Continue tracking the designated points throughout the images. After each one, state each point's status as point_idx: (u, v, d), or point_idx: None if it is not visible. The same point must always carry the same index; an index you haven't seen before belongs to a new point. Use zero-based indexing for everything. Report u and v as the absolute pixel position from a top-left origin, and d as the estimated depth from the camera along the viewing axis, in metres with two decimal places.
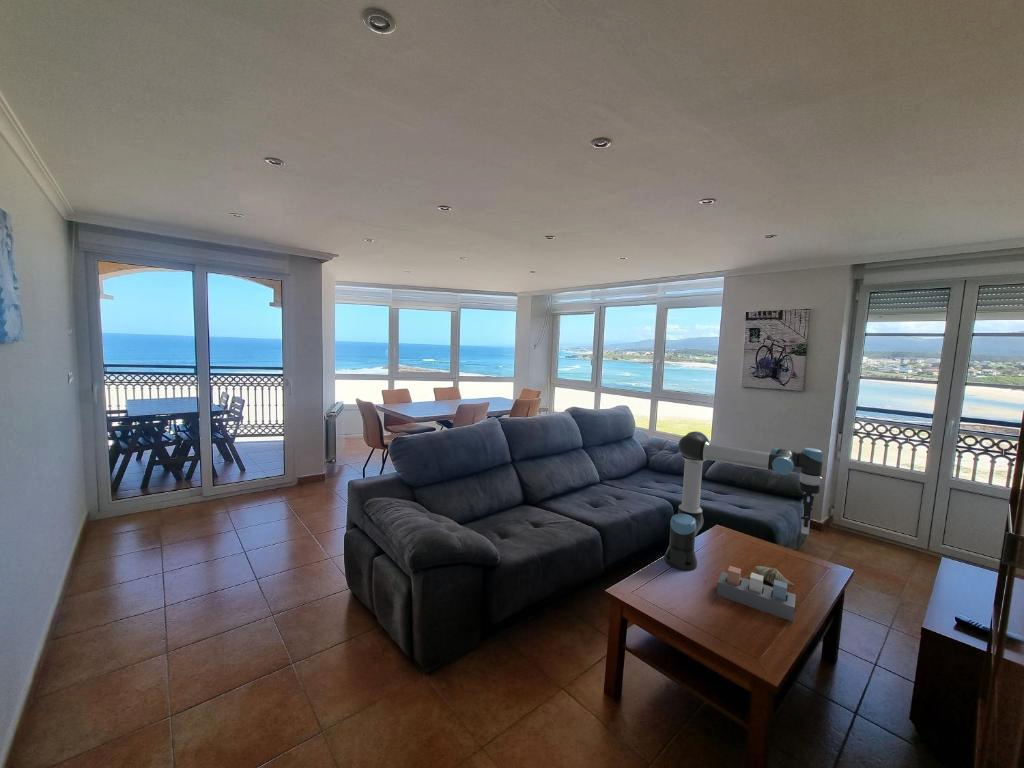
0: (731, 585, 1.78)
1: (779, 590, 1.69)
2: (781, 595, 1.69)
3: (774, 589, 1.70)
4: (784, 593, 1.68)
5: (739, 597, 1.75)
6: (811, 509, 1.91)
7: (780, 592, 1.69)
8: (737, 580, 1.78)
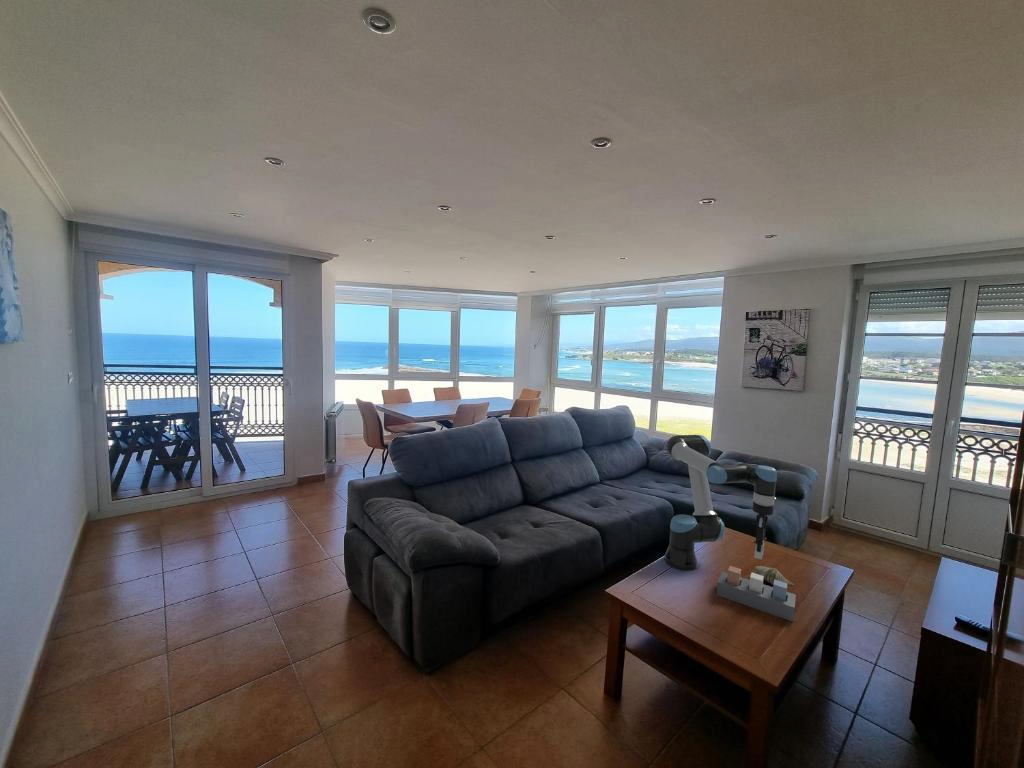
0: (731, 585, 1.78)
1: (779, 590, 1.69)
2: (781, 595, 1.69)
3: (774, 589, 1.70)
4: (784, 593, 1.68)
5: (739, 597, 1.75)
6: (765, 539, 1.76)
7: (780, 592, 1.69)
8: (737, 580, 1.78)
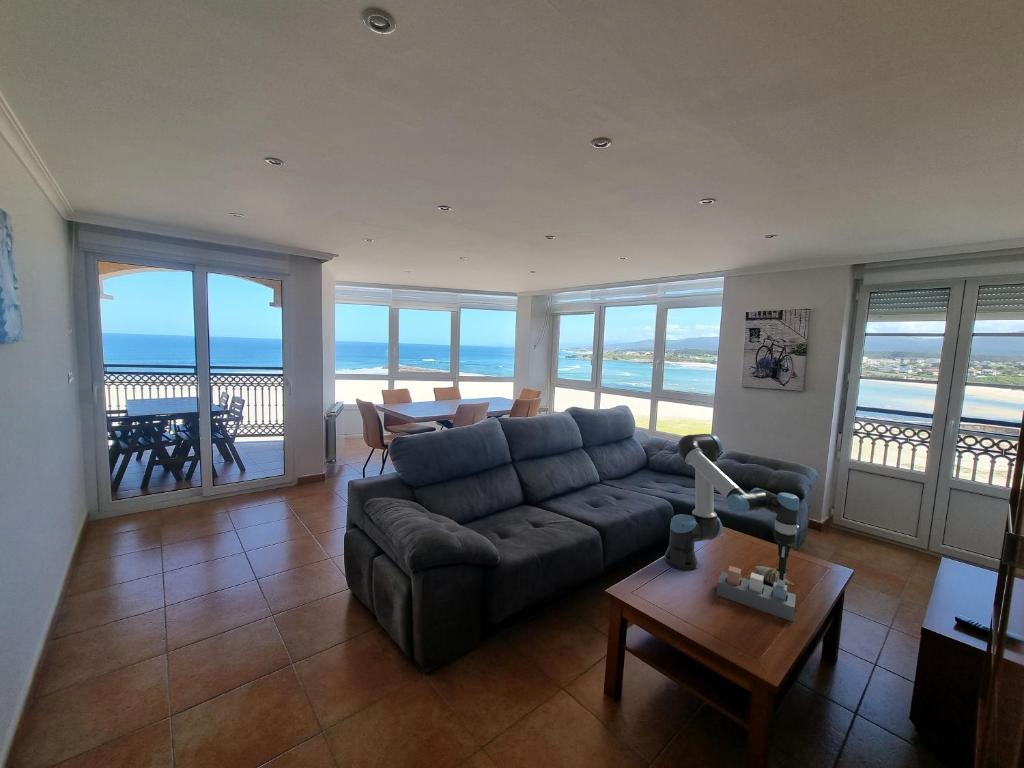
0: (731, 585, 1.78)
1: (779, 592, 1.69)
2: (781, 597, 1.69)
3: (774, 591, 1.70)
4: (784, 595, 1.68)
5: (739, 597, 1.75)
6: (787, 570, 1.70)
7: (780, 595, 1.69)
8: (737, 580, 1.78)
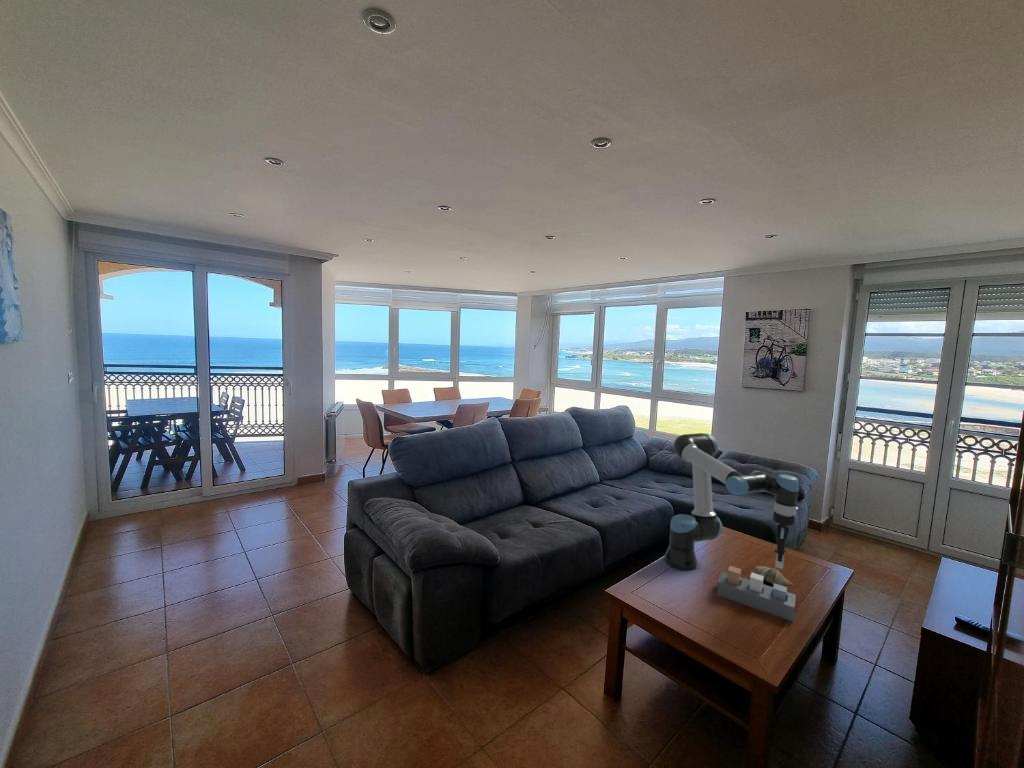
0: (731, 585, 1.78)
1: (779, 594, 1.69)
2: (781, 599, 1.69)
3: (774, 593, 1.70)
4: (784, 597, 1.68)
5: (739, 597, 1.75)
6: (785, 552, 1.70)
7: (780, 596, 1.69)
8: (737, 580, 1.78)
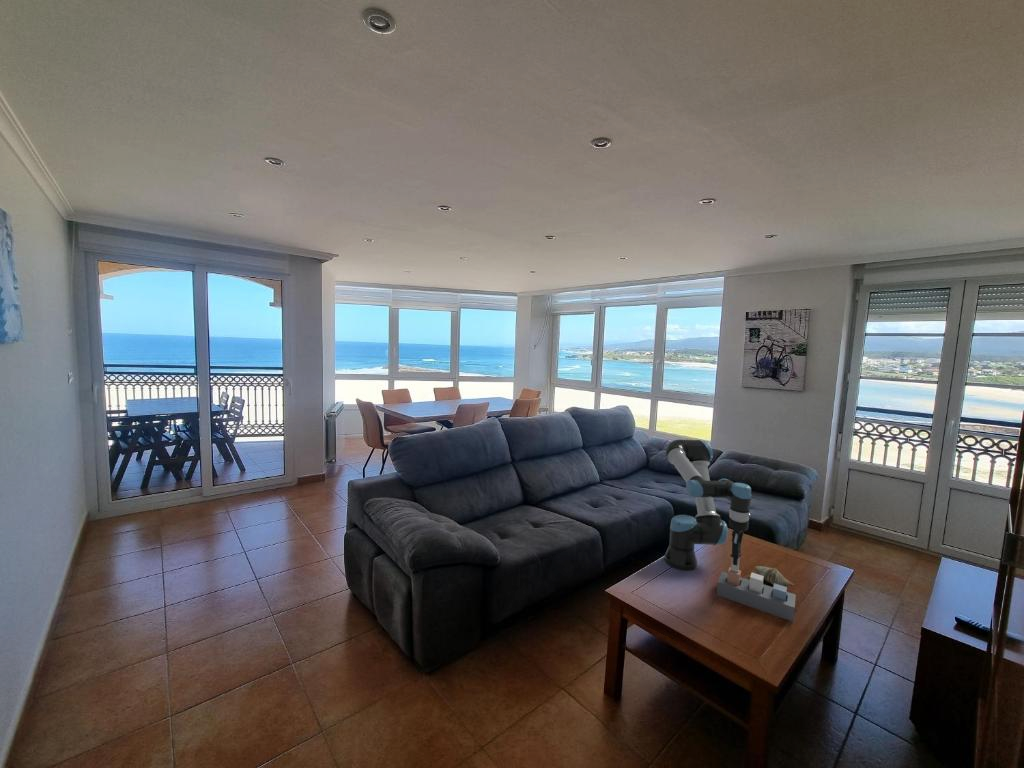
0: (731, 585, 1.78)
1: (779, 594, 1.69)
2: (781, 599, 1.69)
3: (774, 593, 1.70)
4: (784, 597, 1.68)
5: (739, 597, 1.75)
6: (740, 556, 1.80)
7: (780, 596, 1.69)
8: (737, 581, 1.78)
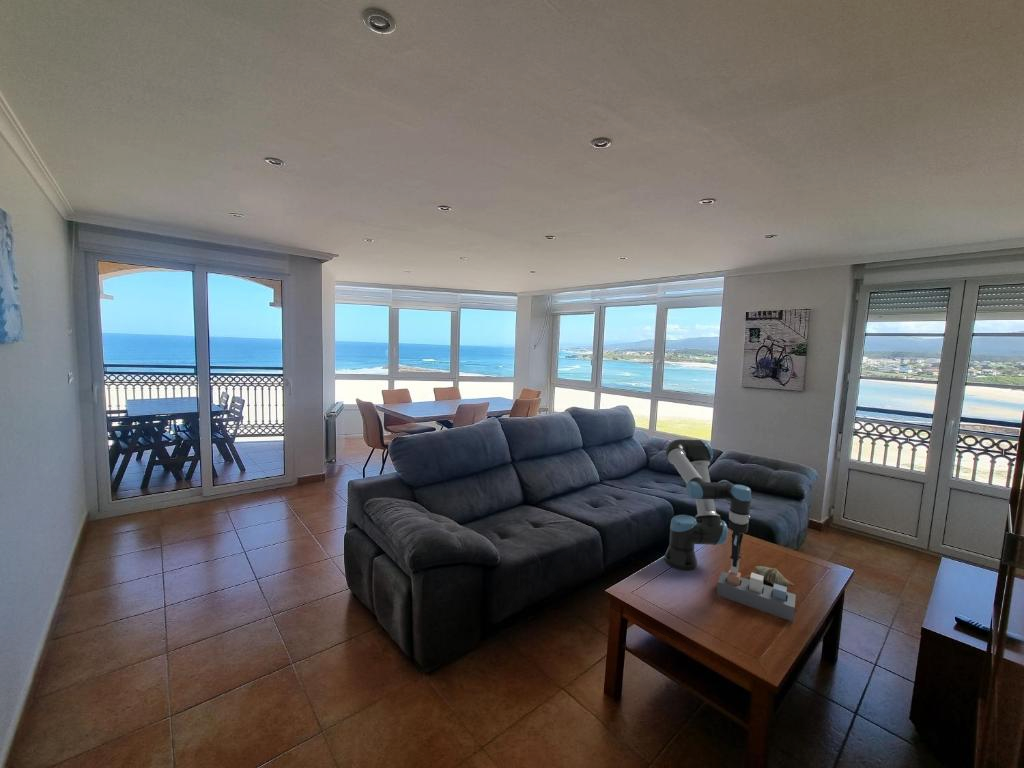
0: (731, 585, 1.78)
1: (779, 594, 1.69)
2: (781, 599, 1.69)
3: (774, 593, 1.70)
4: (784, 597, 1.68)
5: (739, 597, 1.75)
6: None
7: (780, 596, 1.69)
8: (737, 584, 1.78)
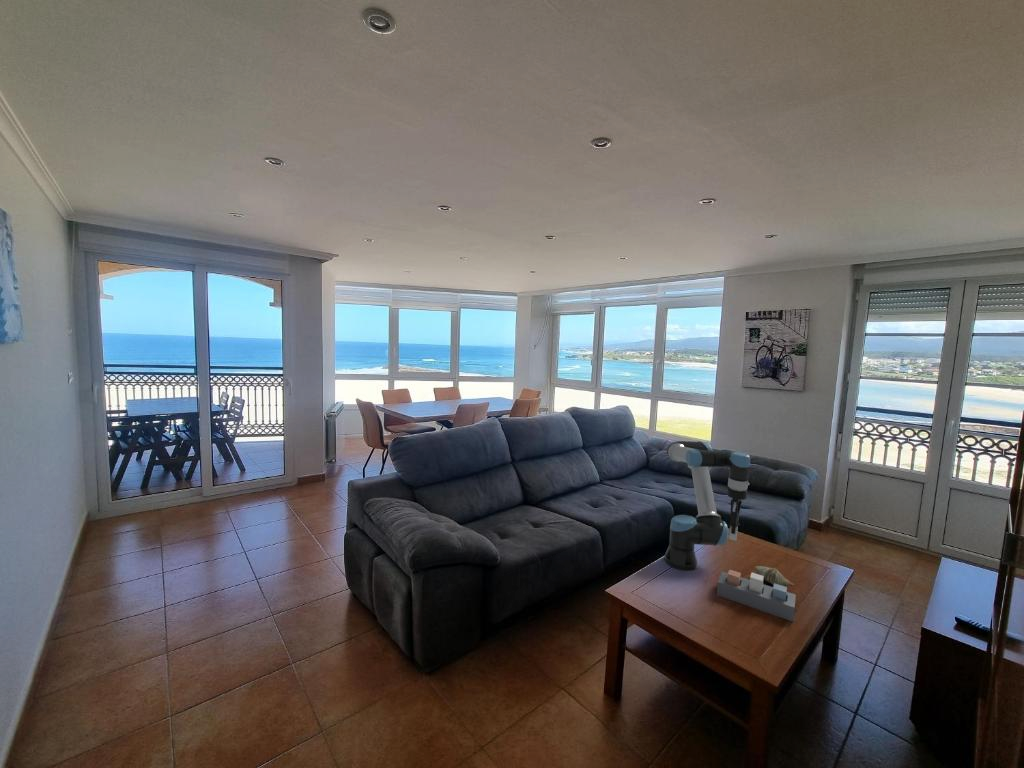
0: (731, 585, 1.78)
1: (779, 594, 1.69)
2: (781, 599, 1.69)
3: (774, 593, 1.70)
4: (784, 597, 1.68)
5: (739, 597, 1.75)
6: None
7: (780, 596, 1.69)
8: (737, 584, 1.78)
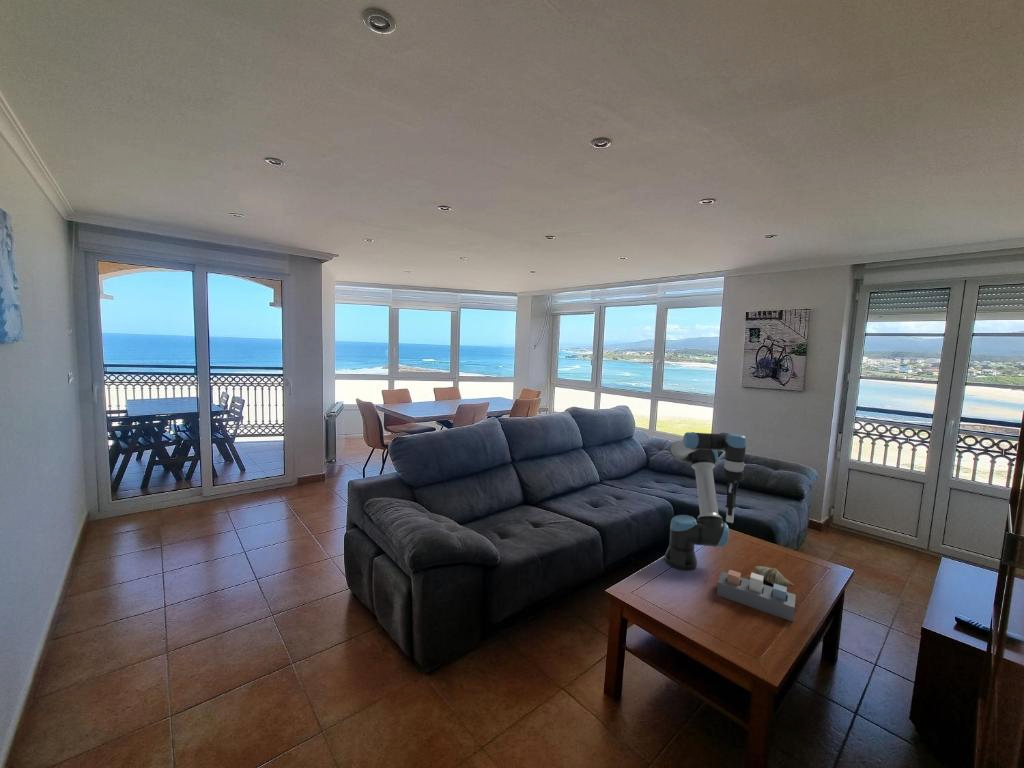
0: (731, 585, 1.78)
1: (779, 594, 1.69)
2: (781, 599, 1.69)
3: (774, 593, 1.70)
4: (784, 597, 1.68)
5: (739, 597, 1.75)
6: None
7: (780, 596, 1.69)
8: (737, 584, 1.78)
